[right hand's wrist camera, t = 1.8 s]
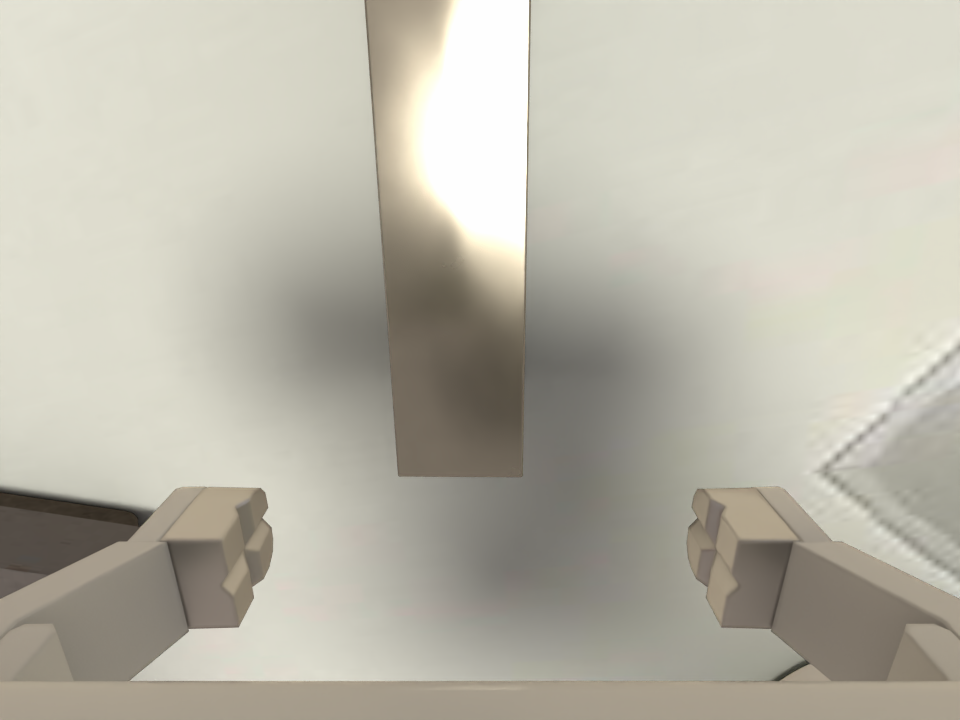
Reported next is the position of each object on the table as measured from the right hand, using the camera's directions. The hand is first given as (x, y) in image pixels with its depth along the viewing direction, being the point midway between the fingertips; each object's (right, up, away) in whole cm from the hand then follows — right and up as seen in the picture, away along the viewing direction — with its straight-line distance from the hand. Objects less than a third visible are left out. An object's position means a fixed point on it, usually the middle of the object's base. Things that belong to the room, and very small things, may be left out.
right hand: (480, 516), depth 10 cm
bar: (-1, +13, +13) cm, 18 cm away
